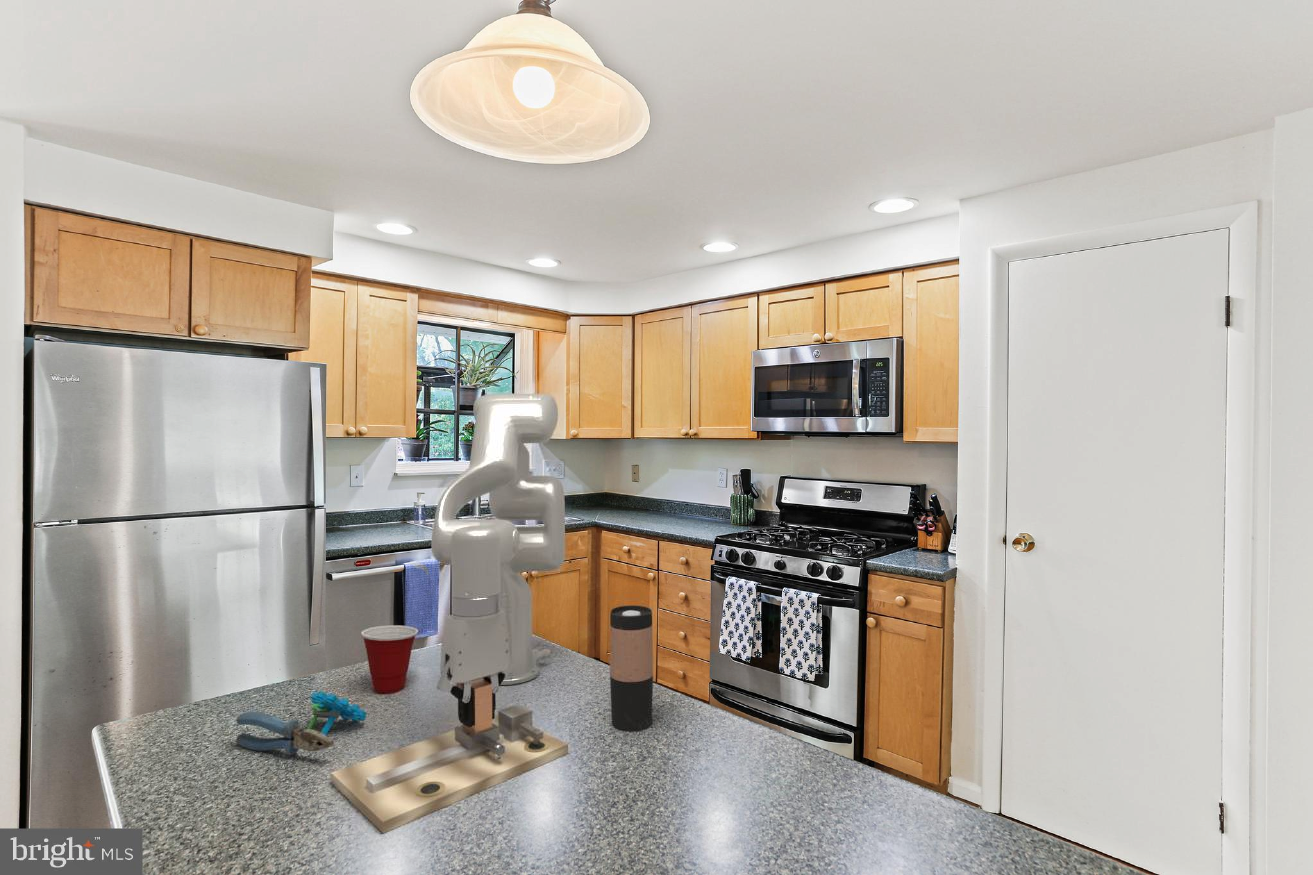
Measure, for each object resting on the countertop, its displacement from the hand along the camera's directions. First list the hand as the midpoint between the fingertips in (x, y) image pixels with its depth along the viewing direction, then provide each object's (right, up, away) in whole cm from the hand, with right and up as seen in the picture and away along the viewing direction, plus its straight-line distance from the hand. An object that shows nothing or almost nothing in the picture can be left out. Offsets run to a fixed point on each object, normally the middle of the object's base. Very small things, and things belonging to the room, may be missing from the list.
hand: (477, 719), depth 106 cm
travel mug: (+24, -6, +13) cm, 28 cm away
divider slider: (+2, -4, -2) cm, 5 cm away
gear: (-28, -7, +12) cm, 31 cm away
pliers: (-32, -7, +2) cm, 33 cm away
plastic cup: (-26, -6, +30) cm, 40 cm away
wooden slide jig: (-3, -6, -3) cm, 7 cm away
